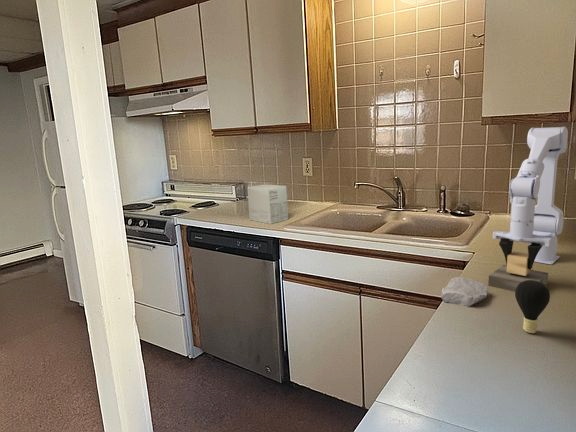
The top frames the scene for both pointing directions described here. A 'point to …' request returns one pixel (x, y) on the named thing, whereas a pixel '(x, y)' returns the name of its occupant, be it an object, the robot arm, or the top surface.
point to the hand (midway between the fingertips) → (519, 266)
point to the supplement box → (268, 203)
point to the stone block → (464, 291)
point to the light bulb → (532, 302)
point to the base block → (514, 278)
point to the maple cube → (518, 263)
